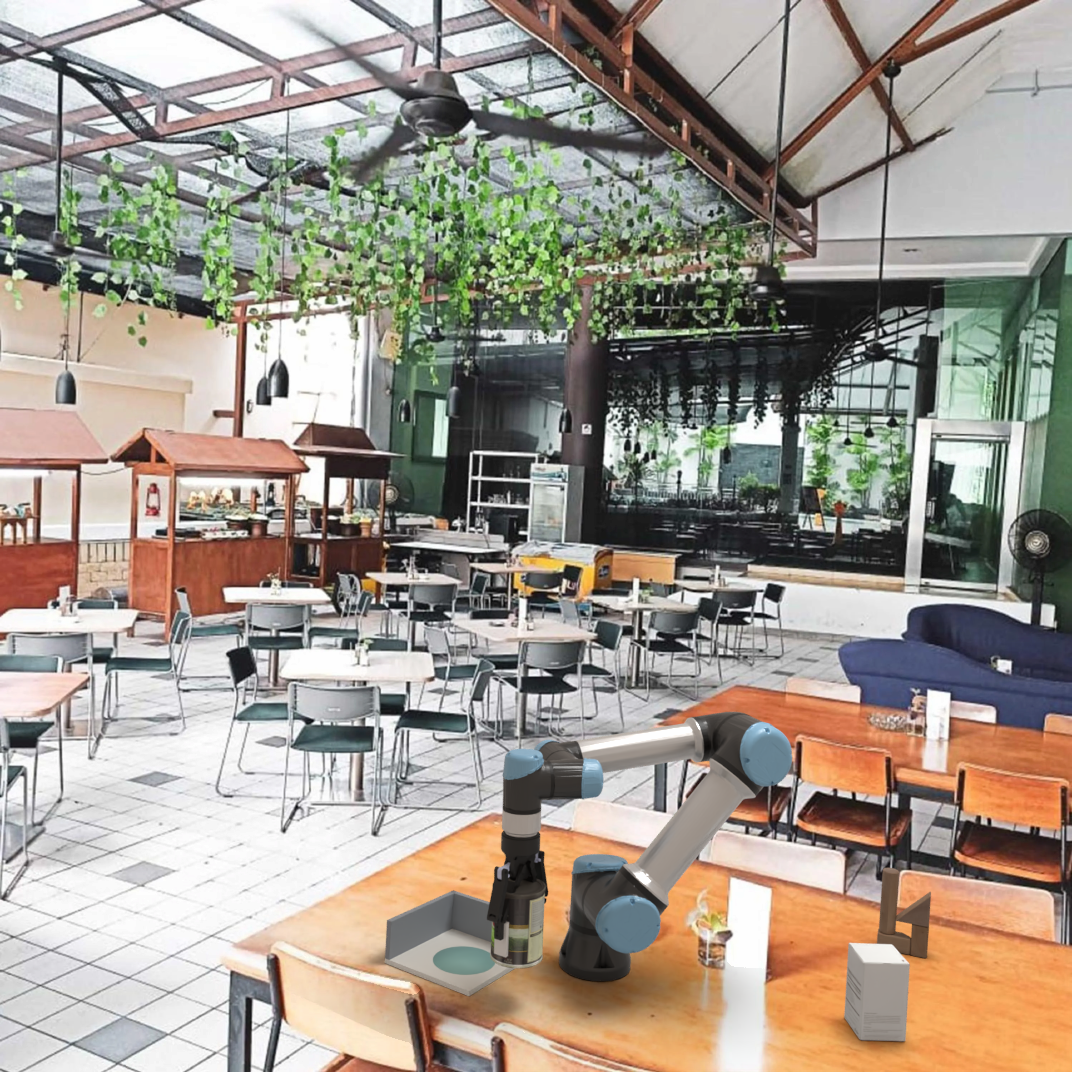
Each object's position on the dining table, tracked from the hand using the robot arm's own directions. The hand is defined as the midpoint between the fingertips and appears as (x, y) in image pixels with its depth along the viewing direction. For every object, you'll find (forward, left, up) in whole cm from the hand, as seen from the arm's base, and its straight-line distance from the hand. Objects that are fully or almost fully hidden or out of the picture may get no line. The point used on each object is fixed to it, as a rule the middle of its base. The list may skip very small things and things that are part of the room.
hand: (517, 945), depth 196 cm
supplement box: (-59, -37, -12) cm, 70 cm away
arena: (+19, -8, -11) cm, 24 cm away
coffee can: (0, 0, -3) cm, 3 cm away
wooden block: (-54, -78, -12) cm, 95 cm away
